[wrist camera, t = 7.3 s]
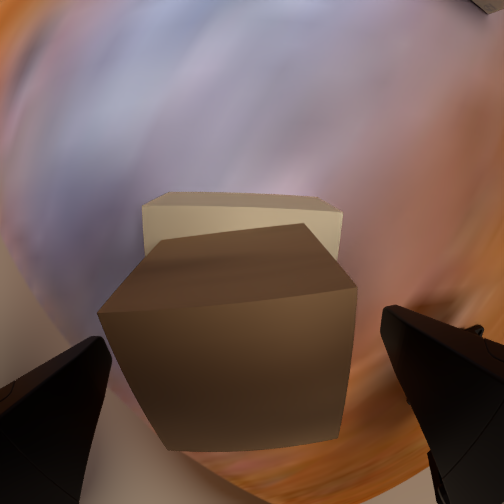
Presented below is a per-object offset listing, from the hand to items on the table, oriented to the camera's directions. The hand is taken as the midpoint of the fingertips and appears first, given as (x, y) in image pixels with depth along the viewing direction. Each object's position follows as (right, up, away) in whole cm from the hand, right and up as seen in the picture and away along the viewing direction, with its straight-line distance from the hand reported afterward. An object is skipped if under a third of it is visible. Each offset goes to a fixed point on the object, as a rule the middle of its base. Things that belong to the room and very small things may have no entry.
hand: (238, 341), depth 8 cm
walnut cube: (0, +1, +2) cm, 3 cm away
